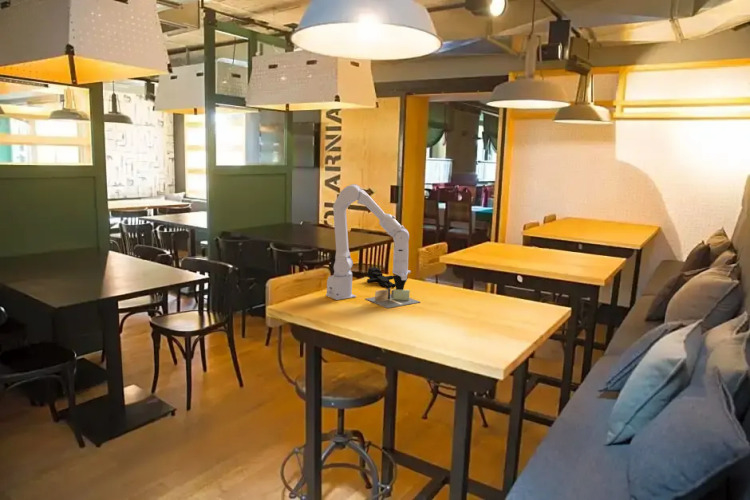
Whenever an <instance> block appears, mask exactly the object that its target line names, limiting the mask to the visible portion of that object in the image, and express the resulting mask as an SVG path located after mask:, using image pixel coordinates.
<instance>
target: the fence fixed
mask: <svg viewBox="0 0 750 500" xmlns="http://www.w3.org/2000/svg"><path fill="white" fill-rule="evenodd" d="M391 291H392V289H391V288H386V289H380V290H375V296H374V297H375V301H382V300H388V299H390V295H391Z"/></svg>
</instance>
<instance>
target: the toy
mask: <svg viewBox="0 0 750 500" xmlns="http://www.w3.org/2000/svg"><path fill="white" fill-rule="evenodd" d="M392 276H393V275H386V276H384V275H383V273H382V271H381V269H380V268H379V267H376V266H373V267H368V270H367V274H366V277H367V280H366V282H367V283H368V284H369V283H373V282H377V283H376V284H378V285H380V286H381V287H384V288H386V289H388V288H391V287H395V288H396V286H395V283H393V282H391V280H394V279H393V277H392Z"/></svg>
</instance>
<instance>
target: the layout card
mask: <svg viewBox="0 0 750 500" xmlns="http://www.w3.org/2000/svg"><path fill="white" fill-rule="evenodd" d="M365 300H366V301H369V302H370V303H374V304H376V305H379V306H380V307H383V308H385V309H392V308H397V307H403V305H404V306H408V305H413V304H414V305H415V304H420V303H421V301H419V300H417V299H413V298H411V297H409V300H399V299H393V298H391V294H390V299H388V300H382V301H375V296H373V297H366V298H365Z"/></svg>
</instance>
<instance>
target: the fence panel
mask: <svg viewBox="0 0 750 500" xmlns="http://www.w3.org/2000/svg"><path fill="white" fill-rule="evenodd" d="M390 295H391V298H393V299H399V300H409V298H410V290H409V289H403V290H401V289H396V288H393V289H391V291H390Z"/></svg>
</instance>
